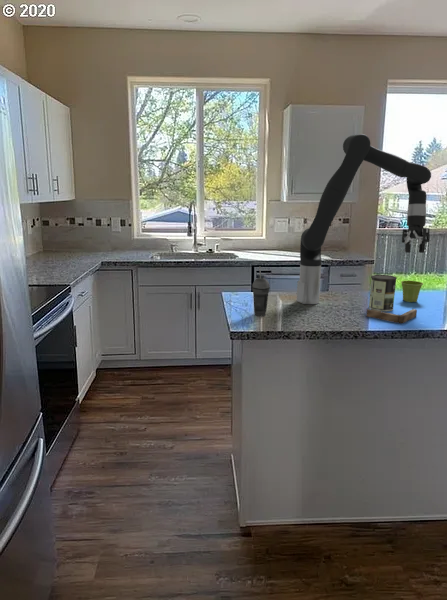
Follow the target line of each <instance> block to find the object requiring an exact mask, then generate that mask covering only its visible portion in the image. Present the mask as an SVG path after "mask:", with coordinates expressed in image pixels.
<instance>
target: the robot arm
mask: <svg viewBox="0 0 447 600" xmlns="http://www.w3.org/2000/svg"><path fill="white" fill-rule="evenodd" d="M342 149H343V153H344V154H345V155H344V158H343V160H342V162H341V164H340V166H339V167H338V168H337V170H336V171H335V172H334V174H333V175H332V176H331V177H330V179H329V180H328V182H327V184H326V186H325V187H324V190H323V191H322V193H321V197H320V199H319V202H318V206H317V211H316V213H315V216H314V218H313V221H312V222H311V224H310V226H309V228H306V229H305V230H303V232H302V233H301V236H300V247H299V248H300V249H299V250H300V251H299V257H300V258H299V259H300V265H299V280H298V281H297V284H296V285H297V286H296V302H297V303H300V304H302V305H316V304H319V302H320V288H321V274H322V247H323V245H324V242H325V239H326V236H327V235H328V234H327V233H328V232H329V230H330V226H331V224H332V222H333V220H334V219H335V217H336V215H337V214H338V212H339V210H340V207H341V206H342V204H343V202H344V200H345V198H346V196H347V193H348V192H349V189H350V188H351V186H352V185H351V184H352V183H353V181H354V178H355V176H356V174H357V172H358V170H359V168H360V166H361V164H363V162H367V163H370V164H373V166H376V167H379V168H380V169H382V170H384V171H386V172H388V173H390V174H392V175H394V176H397V177H400V178H406V187H407V193H408V205H407V211H406V212H407V213H406V217H407V218H406V226H407V227H408V228H407V229H406V228H403V229H402V233H401V234H402V236H401V243H403V244H404V251H405V253H407V254H408V253H411V246H412V245H411V244H412V241H414V240H415V239H416V240H417V241H418V242H419V244H418V253H420V254H424V253H425V250H426V244H427V243H430V234H431V233H430V228H429V227H425V226H426V224H427V223H426V222H427V221H426V220H427V191H425V190H423V188H422V185H425V184H426V183H428V182H429V181H430V180H431V178H432V172H431V171H430V169H429V168H428V167H427V166H424V165H423V164H422V165H421V164H419V163H414V162H411V161H409V160H406V159H404V158H402V157H400V156H398V155H396V154H393V153H390V152H387V151H384V150H381V149H378V148H376V147H374V146H372V145H371V140H370V137H368V135H366V134H363V133H357V134H352V135H350V136H348V137H347V138H346V137H345V139H344V141H343V143H342Z"/></svg>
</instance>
